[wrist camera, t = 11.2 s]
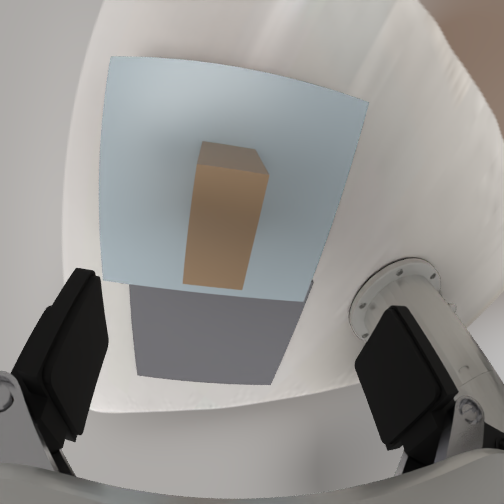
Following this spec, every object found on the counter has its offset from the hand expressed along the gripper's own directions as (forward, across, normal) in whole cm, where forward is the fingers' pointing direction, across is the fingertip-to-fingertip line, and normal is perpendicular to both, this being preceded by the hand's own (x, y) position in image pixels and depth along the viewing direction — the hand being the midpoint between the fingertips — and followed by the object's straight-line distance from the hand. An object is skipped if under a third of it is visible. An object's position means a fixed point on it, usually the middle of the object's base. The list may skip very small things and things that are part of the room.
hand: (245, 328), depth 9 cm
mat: (+17, -1, +18) cm, 25 cm away
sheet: (+11, +1, 0) cm, 11 cm away
